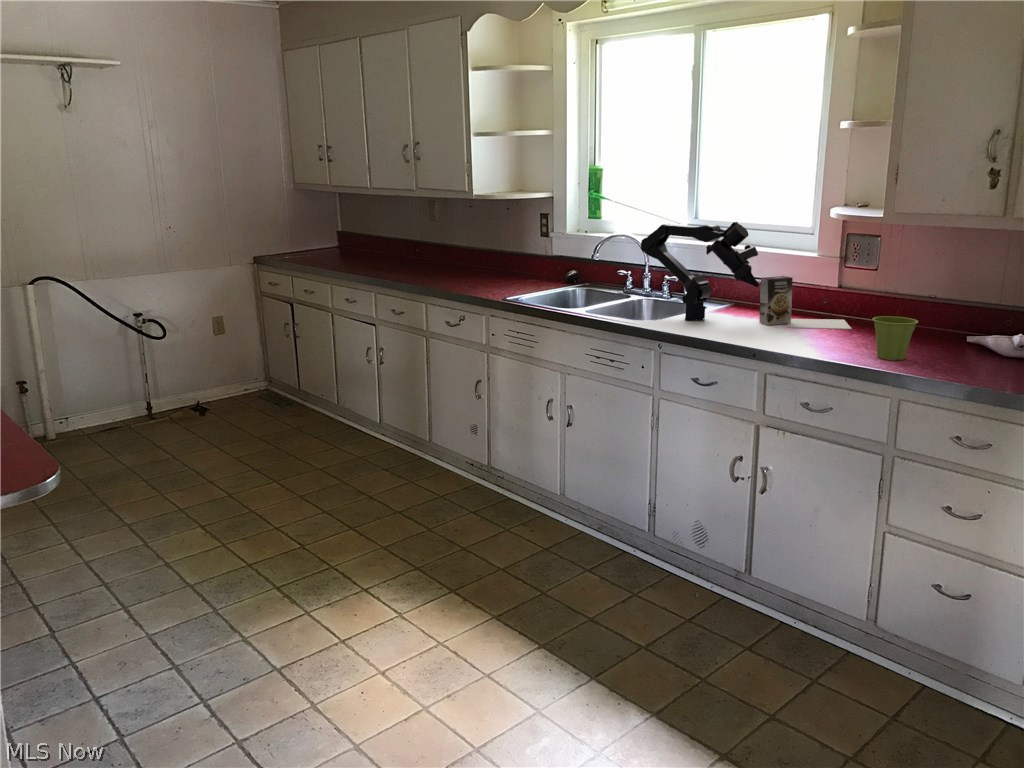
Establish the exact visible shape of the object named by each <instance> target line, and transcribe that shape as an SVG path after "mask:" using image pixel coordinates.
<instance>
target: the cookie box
mask: <svg viewBox="0 0 1024 768" xmlns="http://www.w3.org/2000/svg"><path fill="white" fill-rule="evenodd" d="M759 292H760V294H759V295H760V296H759V297H760V298H759V323H760V324H764V325H765V326H771V325H772V326H774V325H783V324H787V323H791V319H792V308H793V307H792V305H793V304H792V300H793V277H792V276H791V277H790V276H786V275H782V276H766V277H765V276H764V277H760V291H759Z"/></svg>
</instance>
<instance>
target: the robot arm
mask: <svg viewBox="0 0 1024 768" xmlns="http://www.w3.org/2000/svg"><path fill="white" fill-rule="evenodd" d="M749 235H750V234H749V231H748V230H747V228H746V227H745V226H743V225H741V224H739V222H738V221H733V222H732V223H731V224H730V226H729V227H727V228H726V229H723V228H721V227H720V226H719V224H707V225H700V226H699V225H698V226H694V225H684V224H683V225H681V224H671V223H664V224H661V225H659V226H658V228H656V230H654V231H652V233H650V234H649V235H648V236H647V237H644V238H643V239H642V240H641V242H640V250H641V251H642V253H644V254H646V255H647V256H649V257H651V258H653V259H656V260H658V262H660V263H661V265H663V266H664V267H665V268H666V269H667V270H668V271H669V272H670V273H671V274H672V275H673V276H674V277H675V278H676V279H677V280H678V281H679V282H680V283H682V285H683V287H684V290H685V294H684V295H683V296H682V297H681V299H682V301H681V302H682V304H684V305H685V316H684V317H685V318H684V320H685V321H701V320H703V321H704V319H705V318H706V317H705V316H706V306H705V305H704V303H705V302H707V300H708V298H709V297H710V296H711V294H712V286H711V284H710V281H709V280H706V278H705V277H704V276H703V275H696V276H695V275H693V274H692V273H691V272H690V270H688V269H687V268H686V267H685V265H683V264H682V263H681V262H680V261H679V260H677V259H676V257H674V255H673V254H671V253H670V251H668V248H667V245H666V242H667V241H668V239H669V237H670V236H673V237H674V236H675V237H682V238H683V237H686V238H693V239H696V240H698V241H700V242H704V243H710V242H713V243H712V244H707V245H706V255H709V254H710V253H713V254H714V255H715V256H716V257H717V258H718V259H719V260H720V261H721V262H722V264H723V265H724V266H726V267H727V268H728V269H729V270H730V271H731V273H732V274H733V278H734V279H735V280H736V281H737V282H738V281H741V282H744V283H746V284H749V285H751V286H753V287H755V288H758V287H760V284H759V282H758V280H757V279H756V277H755V276H754V274H753V273H752V268H753V267H752V265H751V264H750V261H749V260H750V259H751V258H754V257H757V256H759V252H758V250H757V247H756V246H755V245H752V246H751V245H750V244H746V245H745V246H744V250H743V249H742V250H741V251H740V252H739V251H738V250H736V249H734V248H736V247H737V246H739V245H740V244H741V243H742V242H743V241H745V240H746V239H747V238H748V237H749ZM720 238H722V239H720Z"/></svg>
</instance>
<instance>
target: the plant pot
mask: <svg viewBox="0 0 1024 768" xmlns="http://www.w3.org/2000/svg"><path fill="white" fill-rule="evenodd" d="M872 321H873V322H874V324H873V325H874V329H875V339H876V340H875V341H876V356H877V358H880V359H882V360H884V361H885V360H889V361H897V360H898V361H903V360H905V358H906V357H907V356H906V355H907V353H908V348H909V346H910V342H911V338H912V335H913V333H914V331H915V328H916V325H917V324H919V320H918V319H914V318H909V317H905V316H904V317H903V316H891V315H890V316H889V315H887V316H886V315H885V316H883V315H882V316H874V317H872Z"/></svg>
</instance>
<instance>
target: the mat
mask: <svg viewBox="0 0 1024 768" xmlns="http://www.w3.org/2000/svg"><path fill="white" fill-rule="evenodd" d="M786 324H787V326H788V328H789V329H816V330H817V329H819V330H821V329H822V330H824V329H825V330H852V329H853V328H852V327H851V326H850V325H849V324H848V322H847V321H846V320H845V319H834V318H833V319H829V318H826V319H825V318H824V319H822V318H819V319H818V318H791V323H786Z"/></svg>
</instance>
